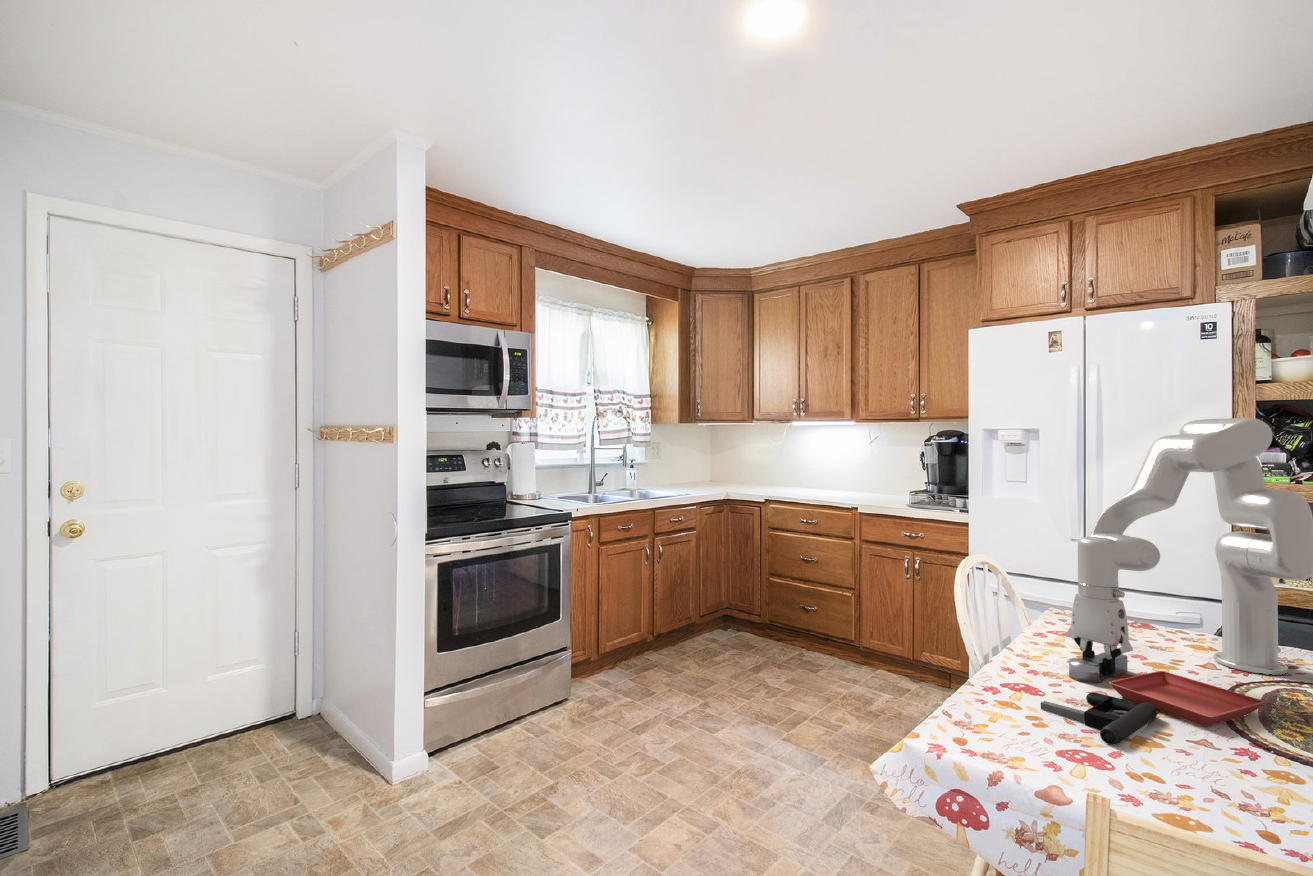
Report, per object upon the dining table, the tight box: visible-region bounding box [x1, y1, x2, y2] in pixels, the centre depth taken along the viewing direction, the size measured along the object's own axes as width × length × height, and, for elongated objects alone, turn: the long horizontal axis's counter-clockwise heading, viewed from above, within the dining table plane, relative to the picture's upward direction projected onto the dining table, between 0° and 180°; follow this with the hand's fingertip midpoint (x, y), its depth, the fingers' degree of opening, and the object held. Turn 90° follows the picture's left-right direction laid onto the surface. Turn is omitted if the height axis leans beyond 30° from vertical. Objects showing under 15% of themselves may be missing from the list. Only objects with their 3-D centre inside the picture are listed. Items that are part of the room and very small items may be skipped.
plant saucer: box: [1108, 670, 1266, 727], centre depth 122 cm, size 18×18×3 cm
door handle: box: [1040, 692, 1159, 746], centre depth 117 cm, size 3×20×16 cm
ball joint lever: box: [1068, 652, 1128, 684], centre depth 139 cm, size 16×6×4 cm, turn 115°
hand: (1098, 671), depth 139 cm, fingers closed on ball joint lever, 3 cm apart
